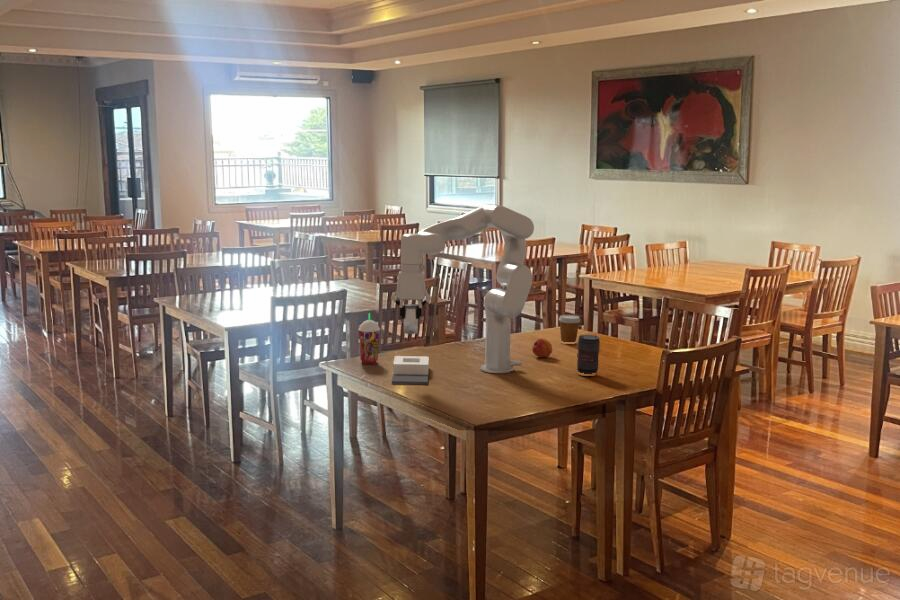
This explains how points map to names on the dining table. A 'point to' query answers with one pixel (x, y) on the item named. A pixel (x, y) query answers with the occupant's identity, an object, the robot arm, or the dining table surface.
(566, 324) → the disposable coffee cup
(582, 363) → the camera lens
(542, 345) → the fruit
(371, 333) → the smoothie
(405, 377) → the rubber pad
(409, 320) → the steel plug
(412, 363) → the socket block
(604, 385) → the dining table surface
